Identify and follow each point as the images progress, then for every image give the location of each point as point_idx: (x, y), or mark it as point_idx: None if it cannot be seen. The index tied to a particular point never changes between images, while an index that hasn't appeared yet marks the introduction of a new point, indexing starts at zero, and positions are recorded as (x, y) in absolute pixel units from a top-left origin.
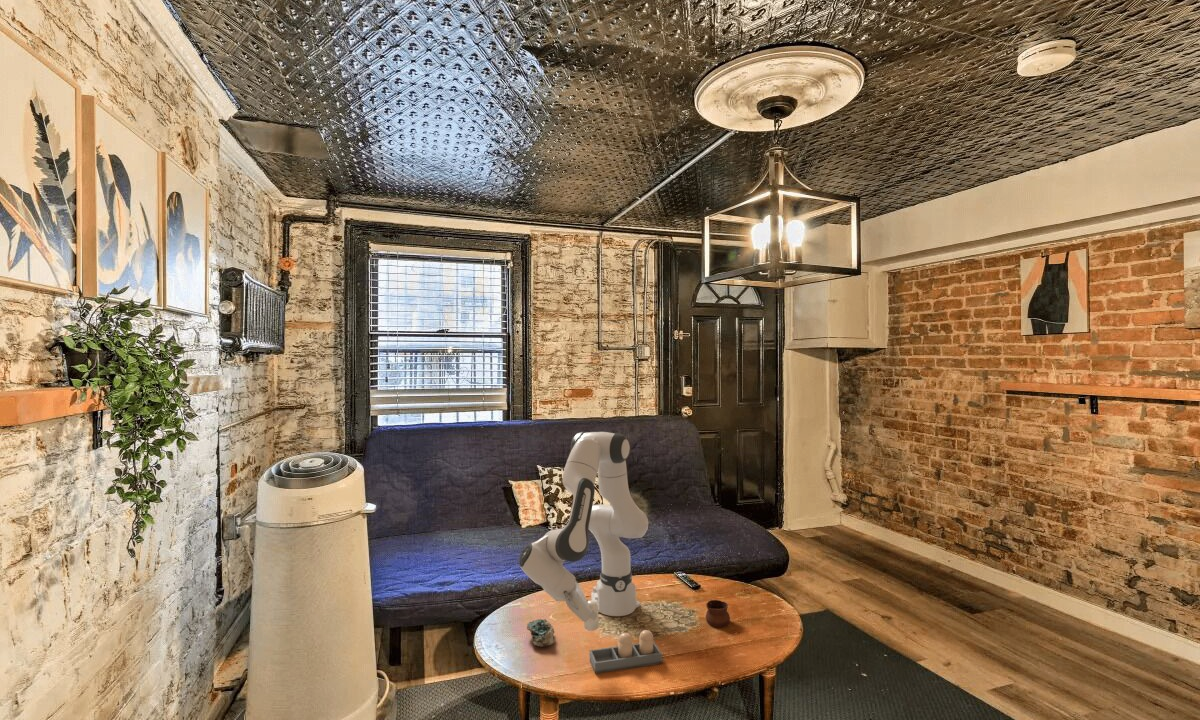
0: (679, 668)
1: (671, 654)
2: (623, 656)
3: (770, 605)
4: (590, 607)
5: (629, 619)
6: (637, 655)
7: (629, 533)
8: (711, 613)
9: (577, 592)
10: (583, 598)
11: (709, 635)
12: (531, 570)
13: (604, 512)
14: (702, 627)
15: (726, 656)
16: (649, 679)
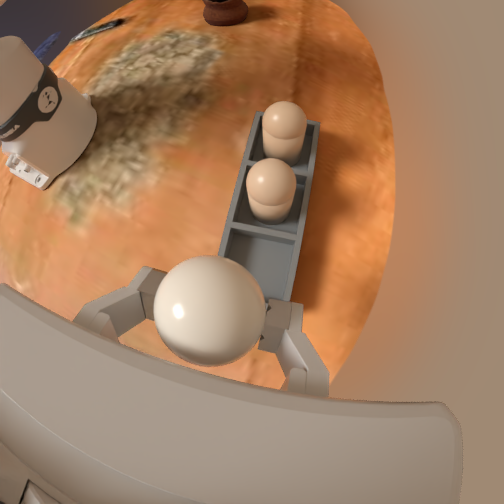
0: (346, 119)
1: None
2: (286, 213)
3: None
4: (250, 342)
5: (110, 126)
6: (300, 175)
7: None
8: (228, 7)
9: (145, 484)
10: (249, 451)
11: (257, 35)
12: None
13: None
14: (226, 34)
15: (333, 48)
16: (365, 194)
